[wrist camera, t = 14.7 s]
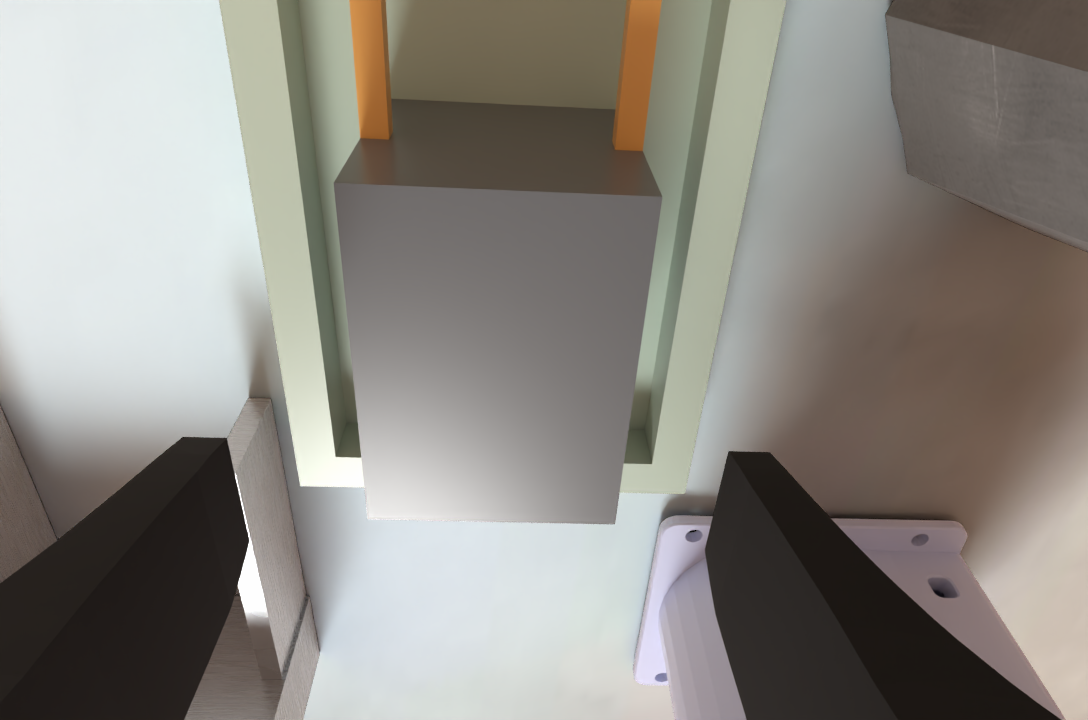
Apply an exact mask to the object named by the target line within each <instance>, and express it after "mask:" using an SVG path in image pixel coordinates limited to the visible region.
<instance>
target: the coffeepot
mask: <svg viewBox="0 0 1088 720" xmlns="http://www.w3.org/2000/svg"><path fill="white" fill-rule="evenodd" d="M885 18H886V27H887V36H888V44H889V53H890V73H891V95H892V99H893V103H894V107H895V110H896V114H897V118H898V122H899V126H900V130H901V133H902V137H903V144H904V151H905V158H906V165H907V172H908V174H910V175H912V176H914V177H917V178H919V179H921V180H923V181H925V182H927V183H930V184H932V185H934V186H936V187H938V188H940V189H943V190H945V191H947V192H949V193H951V194H954V195H956V196H958V197H960V198H962V199H964V200H967V201H969V202H971V203H973V204H975V205H977V206H980V207H982V208H984V209H986V210H988V211H991V212H993V213H995V214H997V215H999V216H1001V217H1004V218H1006V219H1008V220H1010V221H1012V222H1015V223H1017V224H1019V225H1021V226H1023V227H1025V228H1028V229H1030V230H1032V231H1035V232H1038V233H1040V234H1043V235H1045V236H1048V237H1050V238H1053V239H1055V240H1058V241H1061V242H1063V243H1066V244H1068V245H1071V246H1073V247H1076V248H1079V249H1081V250H1084V251H1086V252H1088V0H894V1H893V3H892V4H891V6H890V8H889V9H888V11H887V12H886V14H885Z"/></svg>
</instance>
